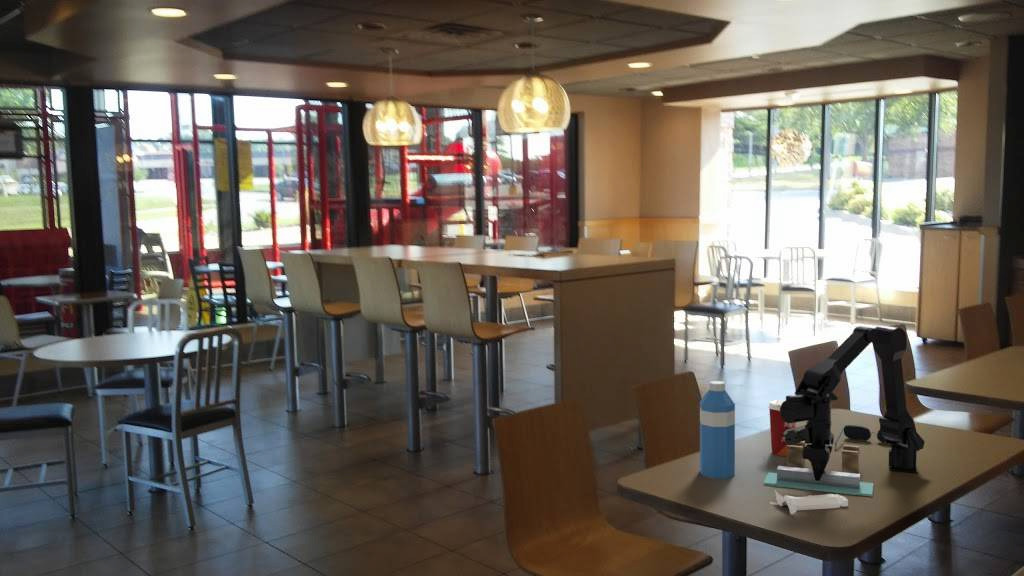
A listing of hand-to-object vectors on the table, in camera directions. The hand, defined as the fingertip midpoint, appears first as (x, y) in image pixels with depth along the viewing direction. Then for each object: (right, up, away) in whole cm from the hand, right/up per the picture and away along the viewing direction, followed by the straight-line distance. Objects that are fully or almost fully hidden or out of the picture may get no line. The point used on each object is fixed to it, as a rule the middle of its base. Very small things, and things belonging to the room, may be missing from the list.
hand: (818, 477), depth 224 cm
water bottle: (-23, -2, +12) cm, 26 cm away
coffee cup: (0, +1, +29) cm, 29 cm away
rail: (0, -1, 0) cm, 1 cm away
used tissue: (-7, -5, -16) cm, 18 cm away
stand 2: (+12, -1, +10) cm, 16 cm away
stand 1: (-1, 0, +16) cm, 16 cm away
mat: (0, -2, 0) cm, 2 cm away
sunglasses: (+27, +1, +32) cm, 42 cm away
